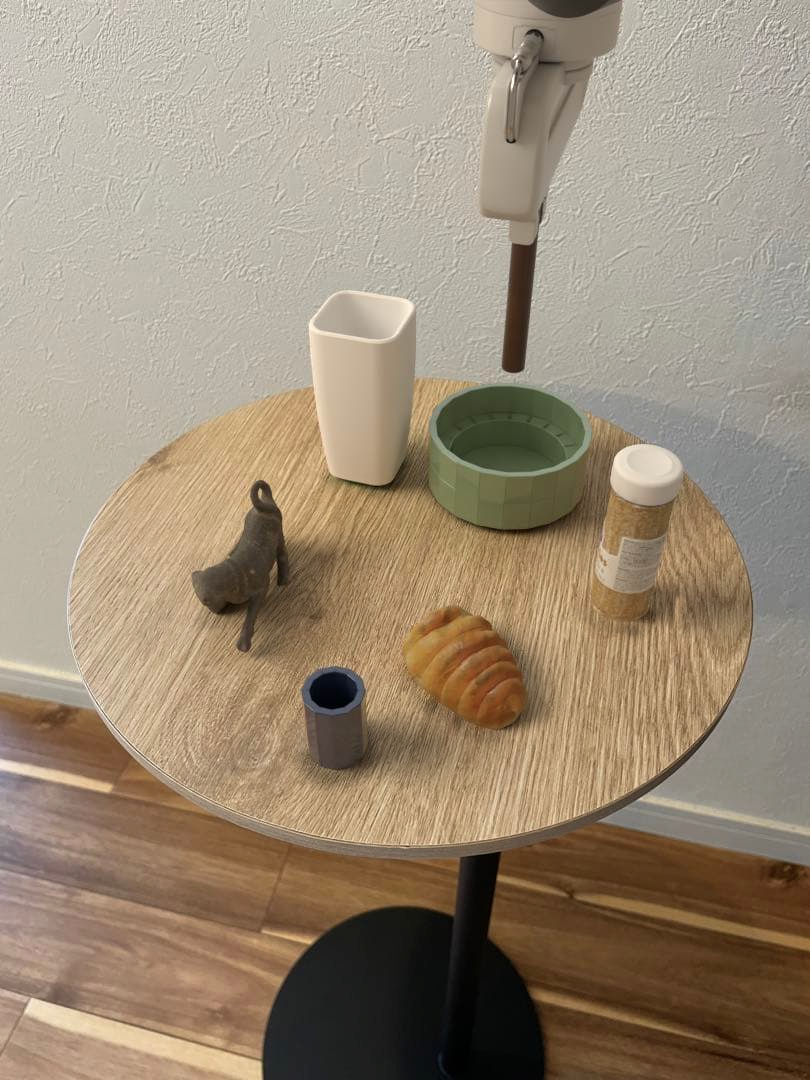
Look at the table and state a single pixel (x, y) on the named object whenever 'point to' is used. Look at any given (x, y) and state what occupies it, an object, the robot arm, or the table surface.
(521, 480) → the bowl
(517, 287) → the stick
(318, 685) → the holder
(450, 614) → the pastry
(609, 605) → the tan spice jar
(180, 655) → the table surface
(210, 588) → the dog figurine
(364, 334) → the cup
